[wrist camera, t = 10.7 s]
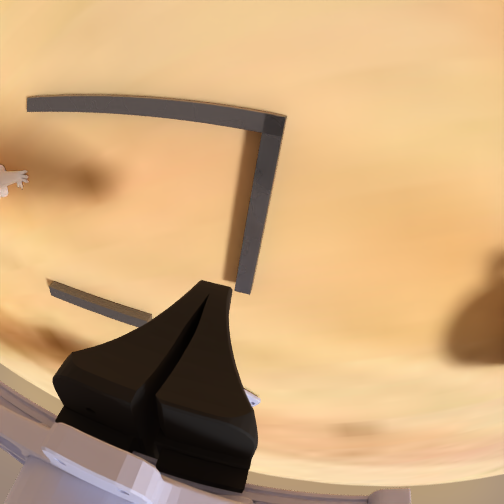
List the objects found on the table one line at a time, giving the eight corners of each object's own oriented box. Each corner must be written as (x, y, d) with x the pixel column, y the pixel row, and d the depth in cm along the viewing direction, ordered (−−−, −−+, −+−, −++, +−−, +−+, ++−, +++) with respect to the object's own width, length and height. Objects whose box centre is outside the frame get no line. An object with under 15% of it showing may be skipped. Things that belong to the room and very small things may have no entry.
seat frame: (239, 347, 29) (237, 355, 28) (56, 289, 30) (51, 295, 29) (287, 115, 18) (285, 117, 17) (35, 96, 20) (27, 97, 19)
